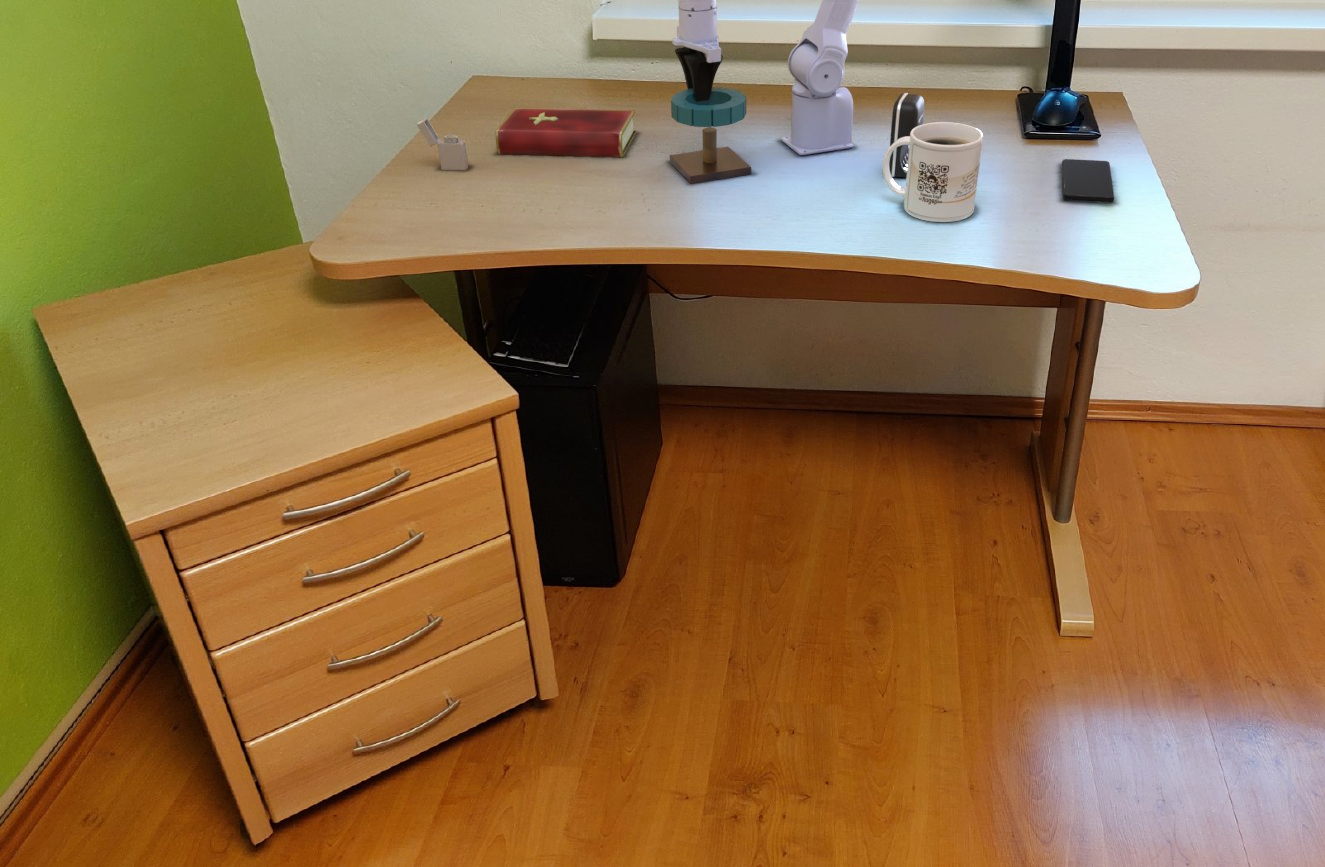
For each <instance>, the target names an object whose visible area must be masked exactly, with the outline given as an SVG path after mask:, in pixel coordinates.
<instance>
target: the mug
mask: <svg viewBox="0 0 1325 867" xmlns="http://www.w3.org/2000/svg"><path fill="white" fill-rule="evenodd" d="M983 141H984V134H983V132H982V131H981V130H980V129H979V128H976V127H975V126H972V125H969V124H965V123H959V122H953V121H952V122H950V121H937V122H936V121H935V122H929V123H928V122H927V123H923V125H919V126H917V127H915V128H913V129H912V131H911V132H910V136H906V137H902V138H899V139H898V140H896V141H895V142H894V143H893V144H892V145H891V146H890V145H889V147H888V149H887V150H886V152H885V154H884V155H883V160H882V167H881V168H882V176H883V180H884V182H885V183H886V186H887V187H888V189H889V190H891V192H892V193H894V194H895V195H898V196H900V197H904V201H903V209H904V211H905V213H907V214H908V215H910V216H911V217H913V218H916V219H919V220H922V221H927V222H933V223H951V222H952V223H953V222H958V221H963V220H965V219H967V218H969V217H971V216H972V214H973V213H974V211H975V207H976V206H975V205H976V197H977V190H978V189H977V188H978V181H979V173H980V166H981V159H982V158H981V157H982V149H983ZM901 145H909V146H908V147H909V154H908V165H907V176H906V177H905V187H903V186H901V185H900V184H898V183H897V182H896V181H895V180H894V177H892V176H891V174H890V169H889V162H890V157H891V154H892V152H893V151H894V149H896V148H897V147H899V146H901Z"/></svg>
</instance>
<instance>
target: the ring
mask: <svg viewBox="0 0 1325 867" xmlns="http://www.w3.org/2000/svg"><path fill="white" fill-rule="evenodd" d="M670 110H671V118H672V119H673V120H674V121H675V122H676V123H678V124H681V125H686V126H690V127H693V128H694V127H695V128H709V127H711V128H717V127H725V126H730V125H734V124H736V123H739V122H740V121H743V120H744V119H745V117H746V115H747V95H746V94H744V93H743V92H742V91H741V90H739V89H734V88H729V87H723V86H712V91H711V95H710V99H709V100H706V101H699V102H697V101H696V100H695V97H694V92H693V88H692V89H688V88H686V89H684V90H681V91H679V92H676V93H675V94H673V96H672V97H671V99H670Z"/></svg>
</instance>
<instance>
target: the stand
mask: <svg viewBox="0 0 1325 867" xmlns="http://www.w3.org/2000/svg"><path fill="white" fill-rule="evenodd" d="M717 131H718V130H717V128H716V127H703V128H702V130H701V133H702V134H701V137H702V138H701V139H702V141H701V142H702V150H695V151H694V150H693V151H688V152H682V153H675V154H670V155H669V163H670V164H671V165H672V166H673V167H674V169H676V170H677V172H678V173H680V175H681V176H682V177H683V178H684V179H685V180H686V181H687V182H688V183H689V184H690V185H693V184H697V183H703V182H710V181H717V180H723V179H729V178H735V177H741V176H742V177H743V176H748V175H752V166H751V165H749V163H747V162H746V161H745V160H744V159H743V158H742V157H740V155H738V153H736V152H735V150H733V149H732V148H731V147H730V146H722V147H718V144H717V143H718V141H717V140H718V138H717V134H718V133H717Z"/></svg>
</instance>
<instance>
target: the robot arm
mask: <svg viewBox="0 0 1325 867" xmlns="http://www.w3.org/2000/svg"><path fill="white" fill-rule="evenodd" d="M677 1H678V3H677V4H678V5H677V6H678V26H676V37H673V38H671V44H672V45H674V46H675V47H677V48H675V49H674V53H675V55H676V56H677V59H678V60H679V63H680V66H681V68H682V72H683V76H684V79H685V84H686V87H687V88H686V89H687V90H688V89H692V88H693V92H694V97H695V100H696V101H697V102H699V101H706V100H709V99H710V95H711V91H712V87H714V86H713V85H714V81H715V78H716V75H717V71H718V69H719V67H720V66H721V64H722V62H723V59H724V58H723V55H722V48H721V47H720V46H719V43H720V42H719V35H718V0H677ZM859 3H860V0H821V2H820V5H819V7H818V10H817V13H816V16H815V18H814V22H813V23H812V24H811V25H810V26H808V27H807V28H806V29H805V30H804V31H803V34H802V36H801V39H800V40H799V42H798V43H797V44H796V45H795V46H794V47H793V48H792V50H791V51H790V52H789V56H788V59H787V67H788V68H787V69H788V71H789V73H790V74H791V76H792V77H793V78H794V82H793V85H792V88H791V115H790V116H791V120H790V122H791V123H790V135H789V136H783V137H781V141H782V142H783V143H784V144H785V145H786V146H788V147H789V148H790V149H792V150H793V151H794V152H795V153H797V154H798V155H799V156H807V155H813V154H820V153H825V152H831V151H833V152H834V151H839V150H845V149H851V148H854V143H852V141H853V123H854V101H853V100H854V99H853V96H852V94H851V92H850V90H849V89H848V88H847V87H845V86H842V84H843V82H844V80H845V75H846V74H845V71H846V70H845V64H846V63H845V62H846V59H847V57H848V54H849V52H848V51H849V50H848V43H847V33H848V31H849V29H850V25H851V23H852V21H853V18H854V15H855V13H856V10H857V8H858V5H859Z"/></svg>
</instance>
